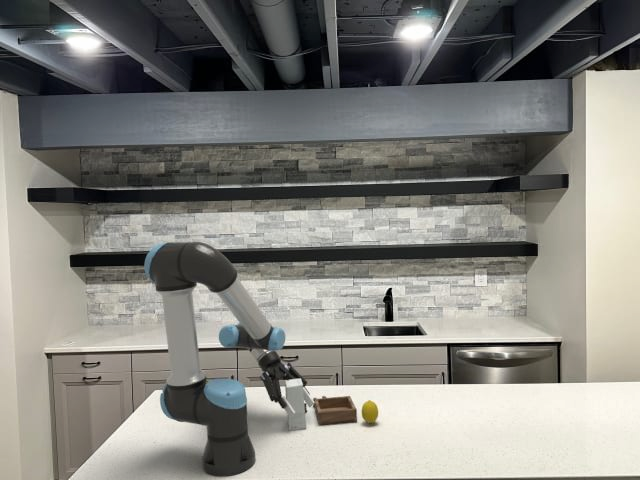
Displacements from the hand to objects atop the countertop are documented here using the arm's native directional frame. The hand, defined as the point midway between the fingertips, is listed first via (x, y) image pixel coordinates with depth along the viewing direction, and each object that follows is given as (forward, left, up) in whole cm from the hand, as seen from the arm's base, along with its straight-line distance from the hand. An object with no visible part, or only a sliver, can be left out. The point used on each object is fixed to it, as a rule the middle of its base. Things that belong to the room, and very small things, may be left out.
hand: (302, 409), depth 166 cm
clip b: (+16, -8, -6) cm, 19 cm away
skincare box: (+2, +2, -6) cm, 7 cm away
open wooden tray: (+6, -12, -6) cm, 15 cm away
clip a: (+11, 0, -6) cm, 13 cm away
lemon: (-2, -22, -6) cm, 23 cm away
